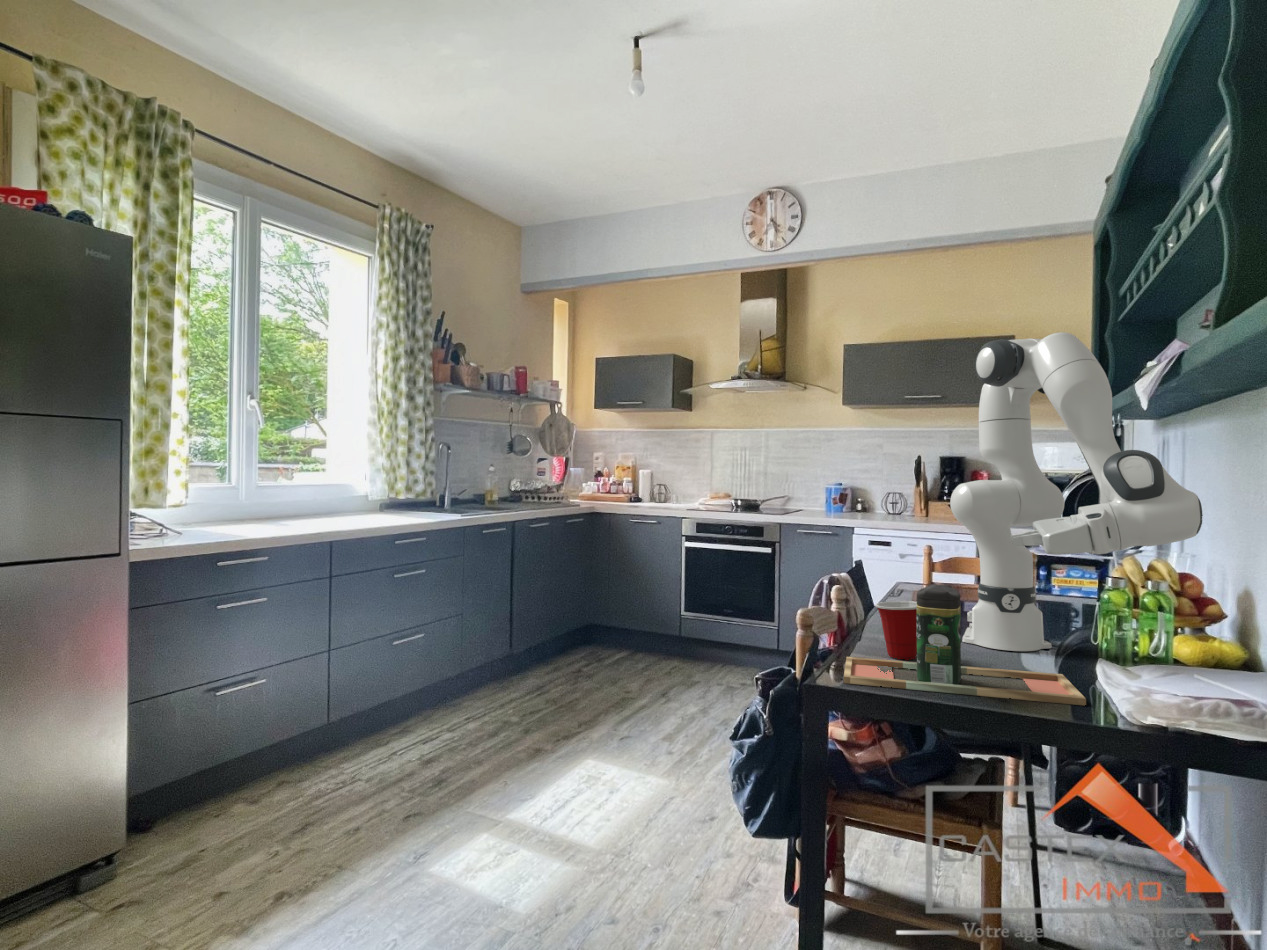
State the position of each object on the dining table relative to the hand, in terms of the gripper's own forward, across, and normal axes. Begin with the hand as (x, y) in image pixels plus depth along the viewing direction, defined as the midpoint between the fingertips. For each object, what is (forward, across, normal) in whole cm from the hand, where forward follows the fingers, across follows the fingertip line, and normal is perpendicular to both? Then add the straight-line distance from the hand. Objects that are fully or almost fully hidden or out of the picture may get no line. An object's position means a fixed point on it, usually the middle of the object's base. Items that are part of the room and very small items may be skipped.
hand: (1011, 541), depth 136 cm
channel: (+15, +6, +24) cm, 29 cm away
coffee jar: (+18, +7, +24) cm, 31 cm away
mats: (+15, +6, +24) cm, 29 cm away
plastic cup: (+26, -10, +24) cm, 37 cm away
